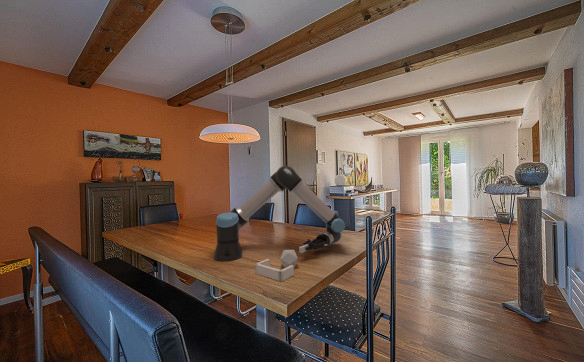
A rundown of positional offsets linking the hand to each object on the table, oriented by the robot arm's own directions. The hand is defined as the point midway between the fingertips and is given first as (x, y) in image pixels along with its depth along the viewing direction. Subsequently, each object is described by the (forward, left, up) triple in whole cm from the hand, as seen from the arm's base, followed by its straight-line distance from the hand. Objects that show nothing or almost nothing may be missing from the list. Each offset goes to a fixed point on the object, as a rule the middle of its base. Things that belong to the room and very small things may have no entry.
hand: (300, 250), depth 124 cm
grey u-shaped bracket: (0, -19, -6) cm, 20 cm away
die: (0, -9, -6) cm, 11 cm away
